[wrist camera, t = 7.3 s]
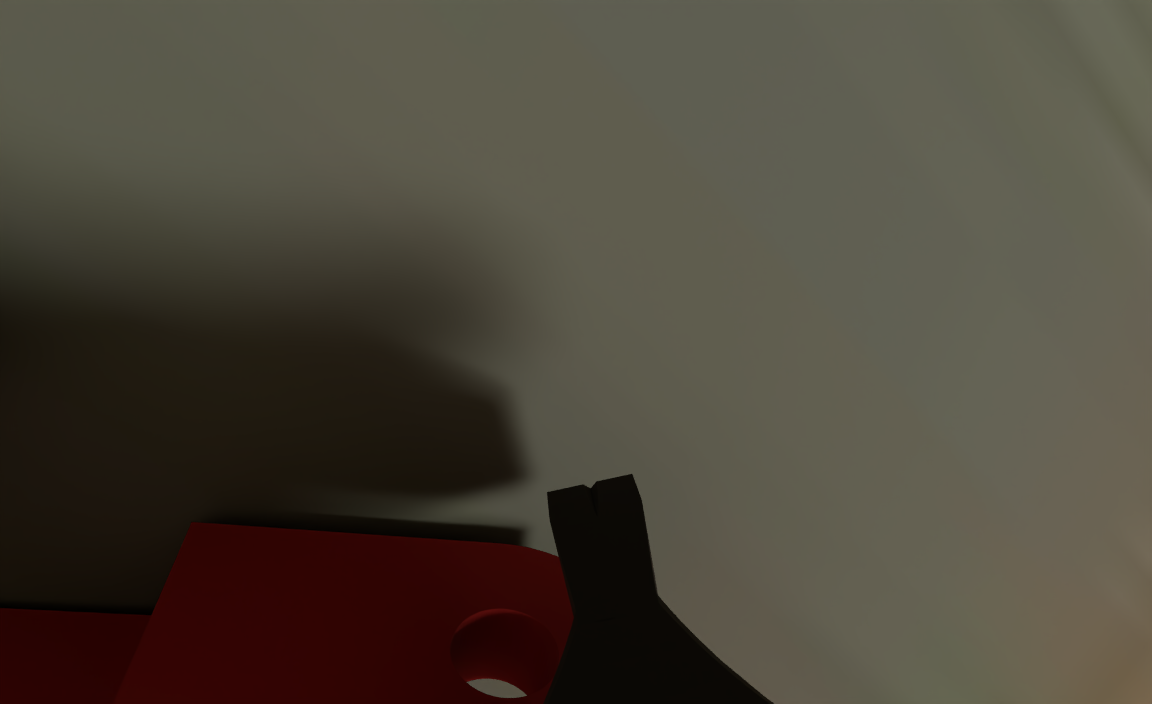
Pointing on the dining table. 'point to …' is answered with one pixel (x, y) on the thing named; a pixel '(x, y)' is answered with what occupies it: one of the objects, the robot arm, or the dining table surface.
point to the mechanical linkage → (306, 626)
